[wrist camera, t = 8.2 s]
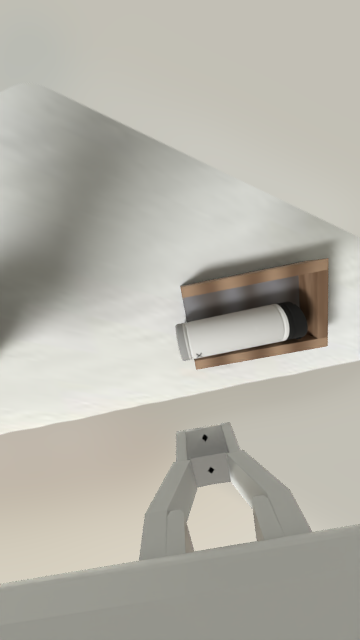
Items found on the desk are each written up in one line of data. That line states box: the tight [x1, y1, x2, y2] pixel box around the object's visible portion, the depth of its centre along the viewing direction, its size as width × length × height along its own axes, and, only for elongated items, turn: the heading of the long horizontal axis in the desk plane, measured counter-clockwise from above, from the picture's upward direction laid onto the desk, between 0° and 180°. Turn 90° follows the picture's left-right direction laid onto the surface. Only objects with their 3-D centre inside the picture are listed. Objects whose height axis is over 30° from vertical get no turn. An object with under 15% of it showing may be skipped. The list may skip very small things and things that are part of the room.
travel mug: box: [176, 301, 308, 361], centre depth 29 cm, size 6×7×20 cm
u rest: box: [180, 258, 328, 370], centre depth 30 cm, size 22×14×5 cm, turn 101°
